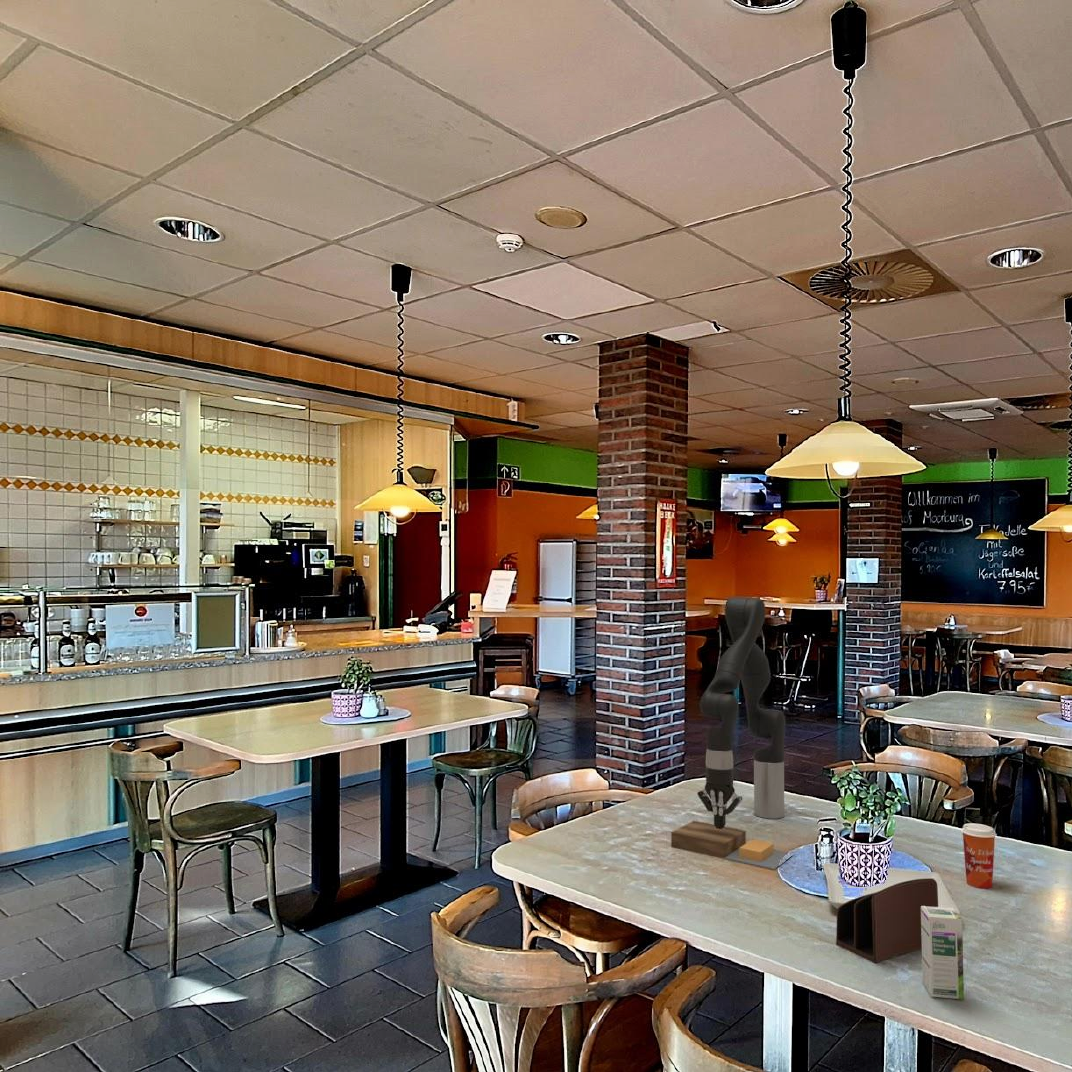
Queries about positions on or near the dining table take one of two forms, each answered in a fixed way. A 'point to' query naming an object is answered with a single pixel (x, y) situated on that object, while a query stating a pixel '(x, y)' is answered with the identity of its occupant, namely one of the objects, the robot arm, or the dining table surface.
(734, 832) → the wooden block
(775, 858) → the mat
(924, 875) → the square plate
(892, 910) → the letter holder
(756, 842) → the orange rectangular block
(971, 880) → the paper cup
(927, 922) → the syrup box
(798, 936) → the dining table surface
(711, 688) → the robot arm
